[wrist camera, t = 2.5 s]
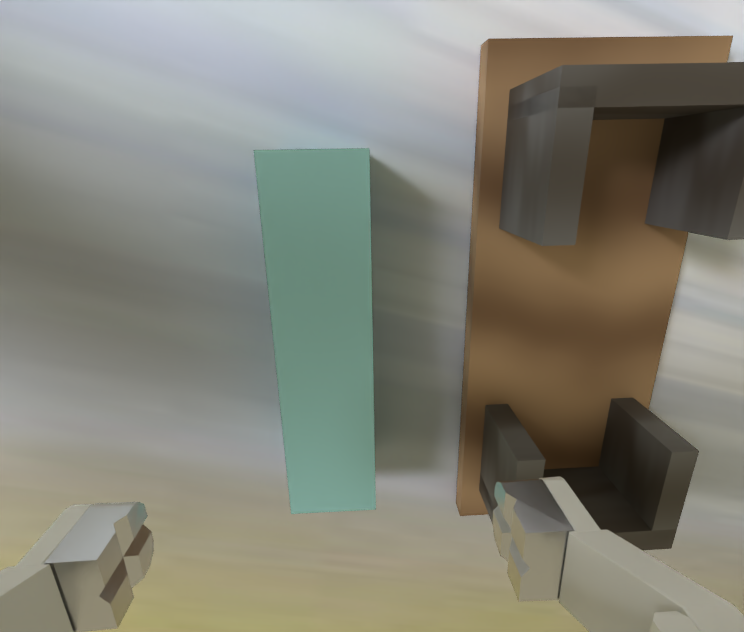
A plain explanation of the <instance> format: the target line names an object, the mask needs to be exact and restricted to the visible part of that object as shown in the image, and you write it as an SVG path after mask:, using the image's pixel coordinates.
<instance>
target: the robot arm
mask: <svg viewBox="0 0 744 632" xmlns="http://www.w3.org/2000/svg"><path fill="white" fill-rule="evenodd" d="M494 496H495V499H496V501H497V503H498V506H497V507H496V508H495V509H494V511H493V530H494V537H495V541H496V545H497V547H498V550H499V553H500V555H501V556H502V557H503V558H504V559H506V560H507V561H508V572H507V573H508V576H509V578H510V581H511V583H512V586H513V588H514V591H515V593H516V596H517V598H518V601H543V600H559V603H560V604H561V605H562V606H563V607H564V608H565V609H566V610H567V611H569V612H570V613H571V614H572V615H573V616H574V617H575V618H576V619H577V620H578V621H579V622H580V623H581V624H582V625H583V626H584V627H585V628H586V629H587V630H588V631H589V632H744V615H743V614H742V613H741V612H740V611H739V610H738V609H737V608H736V606H735V605H733V604H731V603H730V602H728V601H726V600H725V599H723V598H721V597H720V596H718V595H716V594H715V593H713V592H711V591H710V590H708V589H706V588H705V587H703V586H701V585H700V584H698V583H696V582H694V581H693V580H691V579H689V578H688V577H686V576H684V575H683V574H681V573H679V572H678V571H676V570H674V569H673V568H671V567H669V566H668V565H666V564H664V563H663V562H661V561H659V560H658V559H656V558H654V557H653V556H651V555H649V554H648V553H646V552H644V551H643V550H641V549H639V548H638V547H636V546H634V545H632V544H631V543H629V542H627V541H626V540H624V539H622V538H621V537H619V536H617V535H616V534H614V533H612V532H611V531H609V530H601V529H600V528H599V527H598V525H597V524H596V522H595V521H594V520H593V518H592V517H591V516H590V514H589V513H588V511H587V510H586V509H585V507H584V506H583V504H582V503H581V502H580V500H579V499H578V497H577V496H576V495H575V493H574V492H573V490H572V489H571V488H570V486H569V485H568V483H567V482H566V481H565V479H563V478H562V477H547V478H539V479H526V480H510V481H497V482H496V485H495V492H494ZM146 518H147V512H146V509H145V506H144V504H142V503H140V502H127V503H97V504H81V505H72V506H70V507H68V508H66V509H65V510H64V511H63V512H62V513H61V515H60V516H59V517H58V518H57V519H56V520H55V521H54V523H53V524H52V525H51V526H50V527H49V528H48V529H47V531H46V532H45V533H44V534H43V535H42V536H41V537H40V539H39V540H38V541H37V542H36V543H35V544H34V545H33V547H32V548H31V549H30V550H29V551H28V552H27V553H26V555H25V556H24V557H23V558H22V559H21V560H20V561H19V563H18V564H17V565H16V566H13V567H7V568H5V569H3V570H2V571H0V632H86V631H96V630H106V629H116V628H118V627H119V625H120V623H121V621H122V619H123V617H124V615H125V613H126V612H127V610H128V608H129V606H130V604H131V602H132V600H133V598H134V596H133V592H132V587H134V586H135V585H136V584H137V583H139V582H140V581H141V580H142V579H143V578H144V577H145V575H146V573H147V571H148V569H149V567H150V564H151V560H152V556H153V551H154V544H153V536H152V532H151V531H150V530H149V529H148V528H147V527H145V526H144V525H143V523H144V521H145V519H146Z"/></svg>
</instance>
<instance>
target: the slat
mask: <svg viewBox="0 0 744 632" xmlns="http://www.w3.org/2000/svg"><path fill="white" fill-rule="evenodd" d="M254 158H255V168H256V178H257V187H258V197H259V207H260V216H261V226H262V236H263V245H264V255H265V265H266V274H267V284H268V294H269V304H270V313H271V323H272V333H273V342H274V352H275V362H276V371H277V381H278V391H279V401H280V410H281V420H282V430H283V439H284V449H285V459H286V468H287V478H288V488H289V497H290V507H291V514H299V513H318V512H337V511H356V510H375V509H376V496H375V439H374V381H373V324H372V267H371V209H370V152H369V148H361V149H298V150H254Z"/></svg>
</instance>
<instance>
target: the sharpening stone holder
mask: <svg viewBox="0 0 744 632" xmlns="http://www.w3.org/2000/svg"><path fill="white" fill-rule="evenodd" d="M732 38H733V36H673V37H593V38H512V39H488V40H487V41H486V42H484V43H483V44H482V45H481V56H480V74H479V92H478V111H477V129H476V147H475V166H474V184H473V202H472V221H471V239H470V257H469V275H468V294H467V312H466V330H465V349H464V367H463V385H462V404H461V422H460V440H459V458H458V477H457V495H456V504H457V508H458V511H459V514H460V516H467V515H483V514H489V516H490V519H491V521H492V524H493V511H494V509H495V508H496V507H497V506H498V503H497V501H496V499H495V496H494V492H495V485H496V482H497V481H510V480H526V479H539V478H547V477H562V478H563V479H565V481H566V482H567V483H568V485H569V486H570V488H571V489H572V490H573V492H574V493H575V495H576V496H577V497H578V499H579V500H580V502H581V503H582V504H583V506H584V507H585V509H586V510H587V511H588V513H589V514H590V516H591V517H592V518H593V520H594V521H595V522H596V524H597V525H598V527H599V528H600V529H601V530H609V531H611V532H612V533H614V534H616V535H617V536H619V537H621V538H622V539H624V540H626V541H627V542H629V543H631V544H632V545H634V546H636V547H638V548H639V549H641V550H654V549H669V548H671V547H672V544H673V540H674V537H675V533H676V530H677V526H678V523H679V519H680V516H681V512H682V509H683V505H684V502H685V498H686V495H687V491H688V488H689V484H690V481H691V477H692V474H693V470H694V467H695V463H696V459H697V456H698V452H699V451H698V450H697V449H696V448H695V447H693V446H692V445H691V444H690V443H689V442H687V441H686V440H685V439H684V438H682V437H681V436H680V435H679V434H677V433H676V432H675V431H674V430H673V429H671V428H670V427H669V426H668V425H666V424H665V423H664V422H663V421H661V420H660V419H659V418H658V417H657V416H655V415H654V414H653V413H652V412H650V411H649V410H648V409H649V404H650V400H651V395H652V391H653V387H654V382H655V378H656V373H657V369H658V364H659V360H660V356H661V351H662V347H663V342H664V338H665V334H666V329H667V325H668V320H669V316H670V312H671V307H672V303H673V298H674V294H675V289H676V285H677V281H678V276H679V272H680V267H681V263H682V259H683V254H684V250H685V245H686V241H687V237H688V232H690V233H696V234H701V235H706V236H711V237H716V238H721V239H726V240H733V239H744V62H727V60H728V56H729V51H730V47H731V42H732Z"/></svg>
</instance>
